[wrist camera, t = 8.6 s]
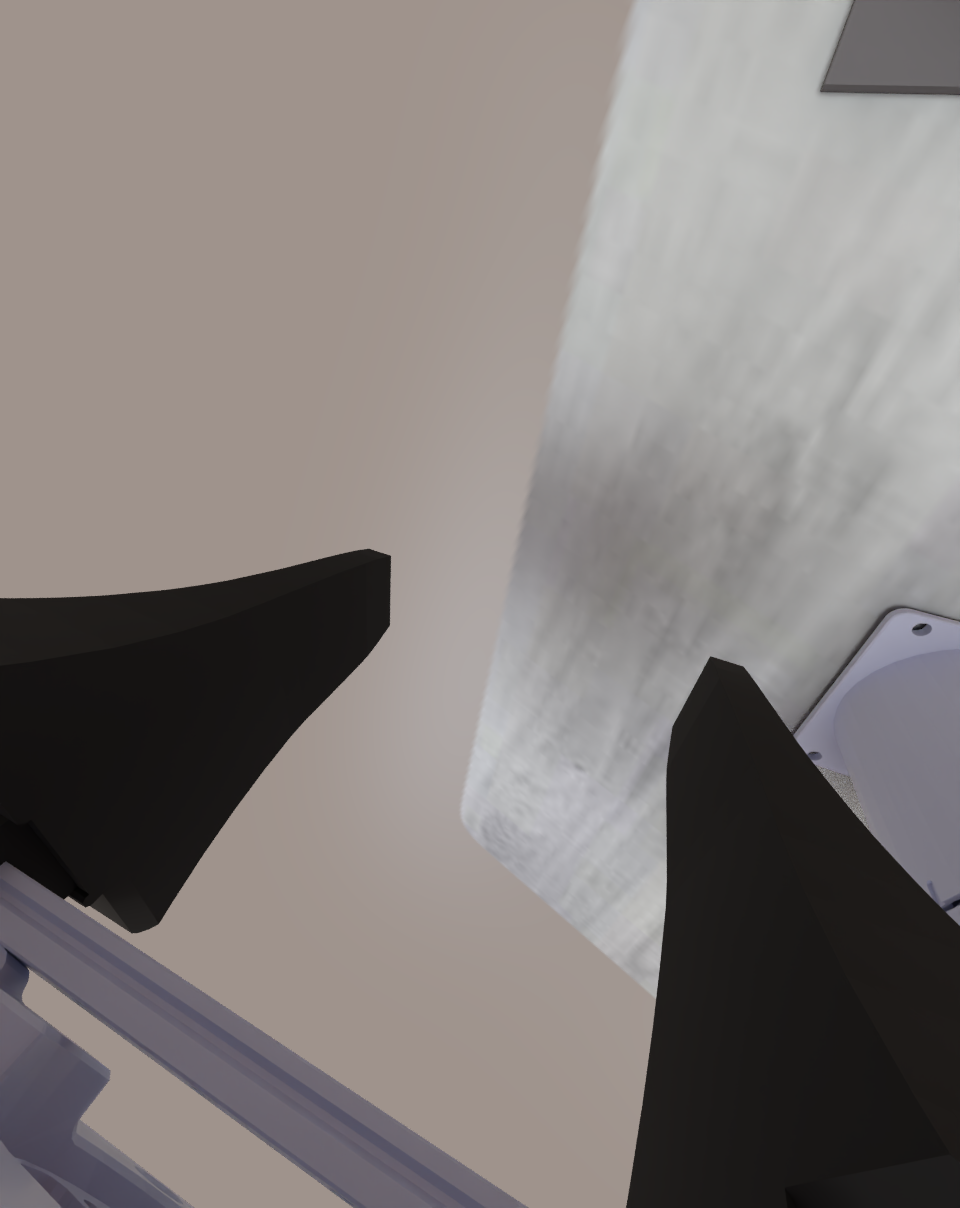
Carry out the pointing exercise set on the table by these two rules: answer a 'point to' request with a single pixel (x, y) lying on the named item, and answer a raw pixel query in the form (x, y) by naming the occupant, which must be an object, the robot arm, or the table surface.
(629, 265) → the table surface
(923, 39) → the mat
